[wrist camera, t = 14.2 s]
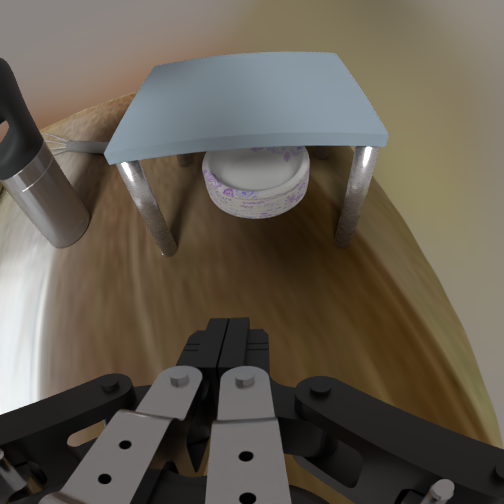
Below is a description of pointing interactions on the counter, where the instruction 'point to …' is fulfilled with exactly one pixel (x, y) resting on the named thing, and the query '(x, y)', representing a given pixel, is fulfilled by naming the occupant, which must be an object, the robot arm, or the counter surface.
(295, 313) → the counter surface
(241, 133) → the small side table
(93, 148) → the kitchen whisk
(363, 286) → the counter surface
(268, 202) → the paper bowls
